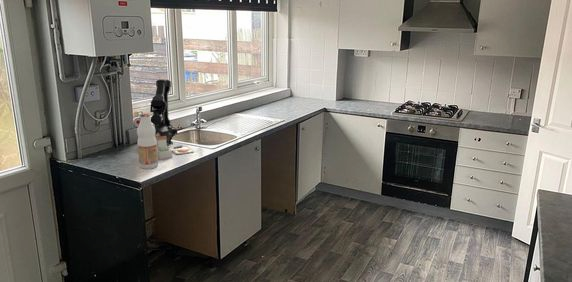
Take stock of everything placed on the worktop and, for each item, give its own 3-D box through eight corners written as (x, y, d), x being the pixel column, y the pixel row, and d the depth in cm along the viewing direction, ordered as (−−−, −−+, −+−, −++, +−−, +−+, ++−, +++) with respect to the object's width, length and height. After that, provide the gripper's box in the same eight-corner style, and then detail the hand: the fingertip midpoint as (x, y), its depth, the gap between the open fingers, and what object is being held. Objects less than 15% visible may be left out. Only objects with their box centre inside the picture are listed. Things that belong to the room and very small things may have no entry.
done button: (158, 151, 240) (158, 147, 240) (165, 150, 243) (165, 145, 242) (161, 153, 237) (161, 148, 236) (168, 151, 239) (168, 147, 239)
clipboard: (169, 150, 254) (169, 147, 253) (185, 147, 259) (185, 144, 259) (177, 155, 244) (177, 152, 244) (193, 152, 250) (193, 149, 249)
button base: (155, 156, 241) (155, 149, 240) (167, 154, 245) (167, 147, 244) (160, 159, 236) (159, 152, 235) (172, 157, 240) (171, 150, 239)
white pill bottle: (155, 151, 250) (154, 135, 247) (164, 150, 253) (163, 133, 250) (158, 154, 246) (157, 137, 243) (167, 152, 249) (166, 135, 246)
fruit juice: (137, 169, 220) (132, 115, 213) (142, 163, 229) (138, 112, 222) (155, 169, 220) (151, 115, 213) (160, 163, 229) (156, 112, 222)
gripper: (147, 125, 233) (149, 153, 237) (180, 121, 243) (181, 147, 247) (141, 121, 241) (143, 148, 246) (173, 117, 252) (174, 143, 256)
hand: (161, 147), depth 248 cm, fingers open, 9 cm apart
